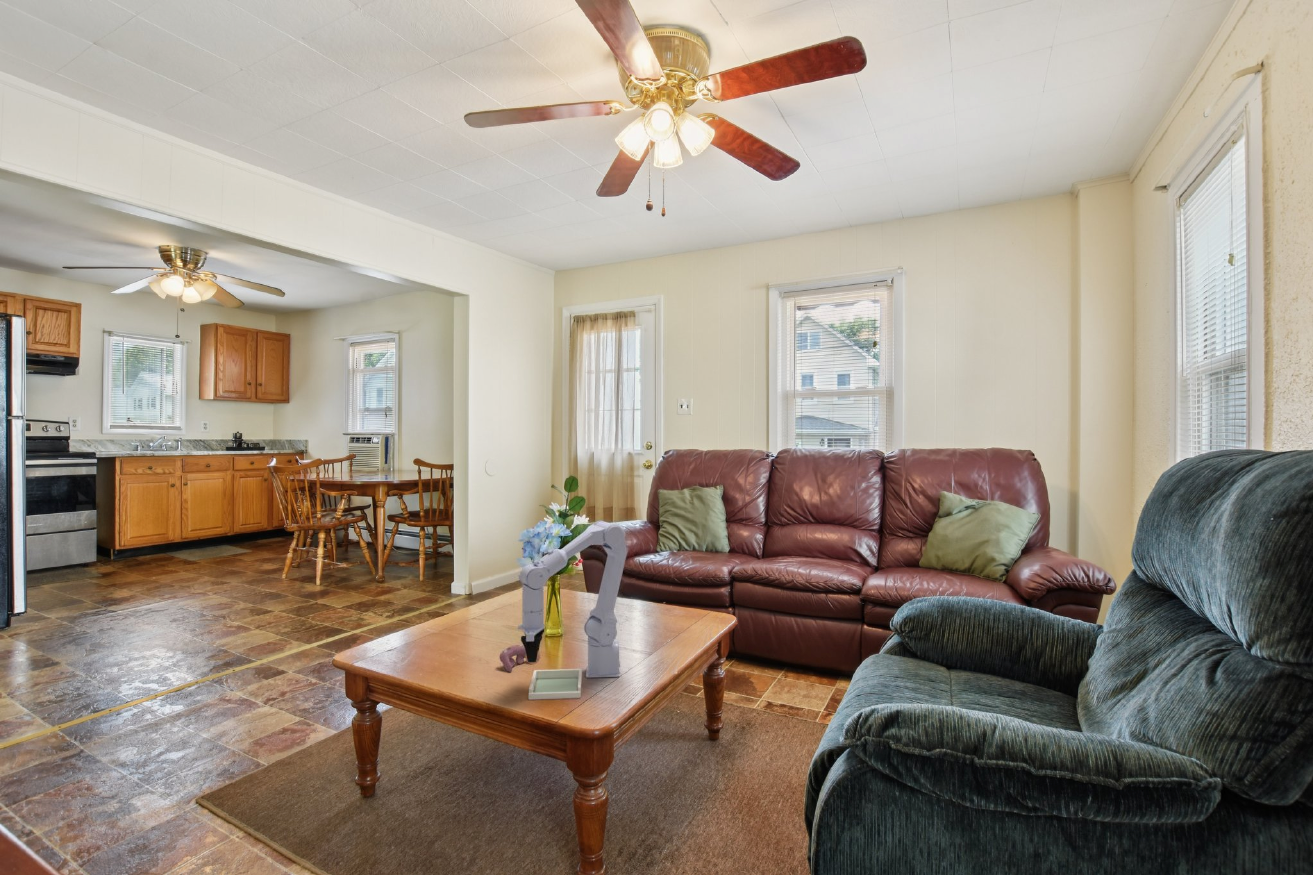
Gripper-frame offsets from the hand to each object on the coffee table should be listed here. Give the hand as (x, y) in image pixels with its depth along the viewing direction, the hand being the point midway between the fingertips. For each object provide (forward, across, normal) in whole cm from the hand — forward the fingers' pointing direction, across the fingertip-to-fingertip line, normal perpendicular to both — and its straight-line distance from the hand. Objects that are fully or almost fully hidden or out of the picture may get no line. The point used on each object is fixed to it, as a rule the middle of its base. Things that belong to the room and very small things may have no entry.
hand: (533, 658), depth 167 cm
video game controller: (+9, -17, -7) cm, 20 cm away
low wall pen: (+8, 0, +6) cm, 10 cm away
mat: (+8, 0, +6) cm, 10 cm away
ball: (+1, 0, 0) cm, 1 cm away
